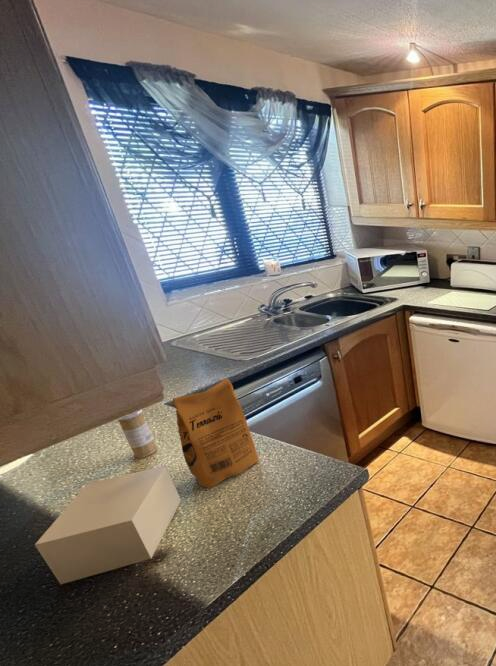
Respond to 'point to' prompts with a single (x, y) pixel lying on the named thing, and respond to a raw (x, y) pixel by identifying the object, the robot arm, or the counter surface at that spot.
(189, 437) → the coffee package
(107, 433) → the counter surface
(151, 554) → the beige rectangular block
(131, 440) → the sprinkles bottle
